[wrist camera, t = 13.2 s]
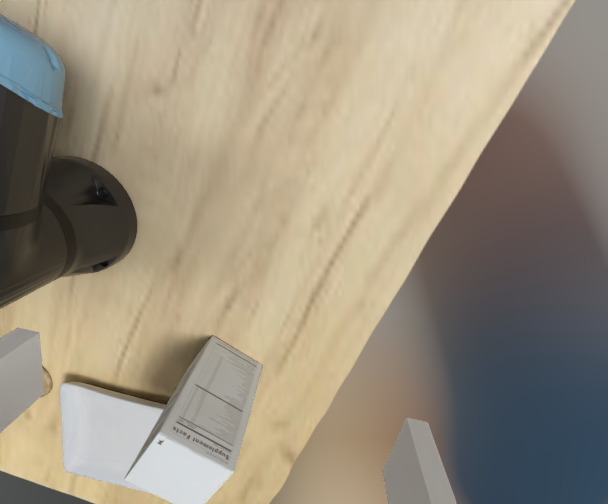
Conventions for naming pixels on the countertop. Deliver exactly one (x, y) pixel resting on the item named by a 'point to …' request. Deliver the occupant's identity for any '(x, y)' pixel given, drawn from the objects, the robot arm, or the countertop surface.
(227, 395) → the supplement box
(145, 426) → the salad plate
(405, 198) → the countertop surface
